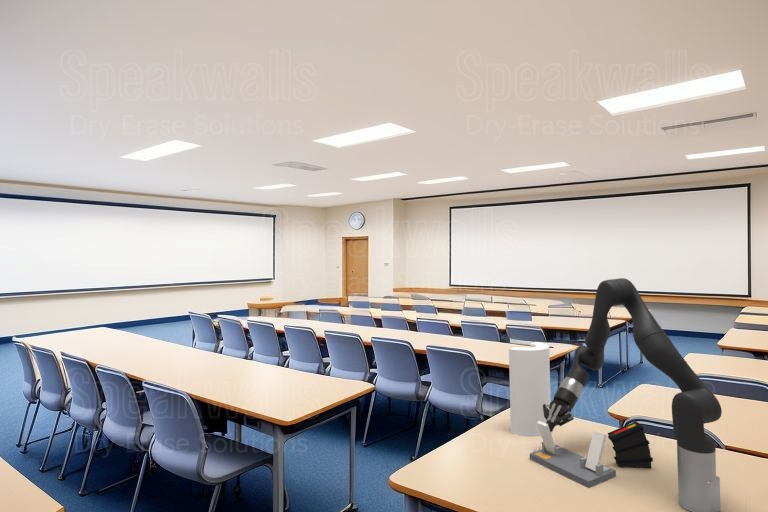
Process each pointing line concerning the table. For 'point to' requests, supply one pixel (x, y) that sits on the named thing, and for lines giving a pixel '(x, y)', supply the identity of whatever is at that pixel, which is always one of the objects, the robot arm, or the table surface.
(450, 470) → the table surface
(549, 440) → the outer lever
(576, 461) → the switch panel
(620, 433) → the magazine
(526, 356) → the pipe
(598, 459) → the inner lever
